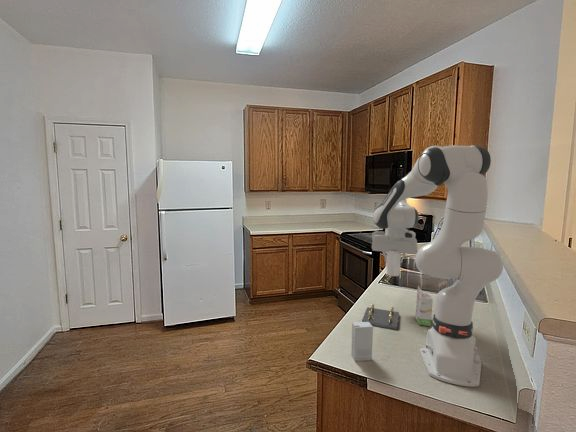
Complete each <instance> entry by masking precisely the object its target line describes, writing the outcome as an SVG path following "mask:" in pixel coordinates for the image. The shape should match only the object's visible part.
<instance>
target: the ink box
mask: <svg viewBox="0 0 576 432" xmlns="http://www.w3.org/2000/svg"><path fill="white" fill-rule="evenodd" d="M433 302H434V299H433V298H432V295H430V293H429V292H425V291H423V290H422V289H421V287H420V286H419V285H417V292H416V302H415V303H416V306H415V319H416V321H417V323H418V325H419V326H427V327H428V326H429V327H432V326H431V325H432V313H433Z"/></svg>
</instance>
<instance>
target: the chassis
mask: <svg viewBox="0 0 576 432" xmlns="http://www.w3.org/2000/svg"><path fill="white" fill-rule="evenodd" d="M394 309H395V307H394V306H391V307H390V310H387V309H380V308H375V304H374V303H371V307H370V306H369V307H366V309H365V312H364V314H363V316H362V319H361V322H369V323H370V324H371V325H372V326H373V327H374V326H375V327H380V328H386V329H391V330H394V331H395V330H398V324H399V323H398V322H399V317H400V312H399V311H395V310H394Z"/></svg>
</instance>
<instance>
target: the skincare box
mask: <svg viewBox="0 0 576 432" xmlns="http://www.w3.org/2000/svg"><path fill="white" fill-rule="evenodd" d="M351 324H352V325H351V356H352V358H353V360H354V362H361V361H362V362H363V361H364V362H365V361H372V360H373V338H374V337H373V335H374V326H373V325H371V324H370V323H369V322H362V321H355V322H354V321H353V322H352V323H351Z"/></svg>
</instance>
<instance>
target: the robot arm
mask: <svg viewBox="0 0 576 432" xmlns="http://www.w3.org/2000/svg"><path fill="white" fill-rule="evenodd" d="M491 159H492V158H491V155H490V152H489V150H488V149H487V148H485V147H484V146H480V145H456V144H455V145H454V144H453V145H445V146H440V145H431V146H429V147H427V148H425V149H424V150H423V151H422V152H421V154H420V156H419V157H418V158H417V160H416V162H415V163H414V165H413V167H412V169H411V171H409V172H408V173H407V174H406V175H405V176H404V177H402V178H401V179H400V180H398V181H396V183H394V185H393V186H392V187H391V189H390V190H389V192H388V193H387V194H386V196H385V197H384V198H383V200H382V202H381V203H380V204H379V205H378V206H377V207H376V208H375V209H374V211H373V214H372V216H373V217H372V219H373V220H372V221H373V224H375V226H376V227H378V228H379V229H381V231H378V230H375V231H373V232H372V233H371V240H372V243H371V250H372V251H373V252H374V251H375V252H382V255H383V257H384V262H386V254H387V252H389V250H393V251H398V252H399V253H401V259H400V263H401V264H403V261H404V259H405V257H406V254H407V255H415V266H416V268H417V269H418V272H420V273H421V274H422V275H425V276H428V277H431V278H432V277H433V278H436V279H437V278H438V279H446V280H447V279H448V280H456V281H455V282H454V283H453V284H452V285H450V286H448V287H445V288H443V289H441V290H440V291H439V292H438V293H437V294H436V296H435V309H434V310H435V311H434V314H433V316H432V317H433V318H432V326H431V328H430V329H428V330H427V333H426V343H425V347H421V348H420V349H419V354H420V356H421V359H422V361H423V363H424V365H425V369H426V371H427V374H428V376H430V377H432V378H434V379H436V380H439V381H441V382H444V383H448V384H454V385H456V386H463V387H468V388H469V387H470V388H473V387H474V388H475V387H479V386H480V383H481V375H482V373H481V372H482V361H481V360H480V359H481V355H479V354H475V353H476V352H478V350H479V347H478V346H477V345H476V341H477V339H476V337H475V336H474V335H473V333H474V332H473V331H474V322H473V321H472V320H473V311H474V305H475V301H476V299H477V297H478V295H479V294H480V292H481V291H482V290H483V289H485V287H486V286H488V285H489V284H491V283H493V282H494V281H496V280H498V279H499V278H500V277H501V275H502V274H503V273H502V272H503V269H504V263H503V259H502V257H501V256H500V255H499V253H497V252H496V251H495V250H491V249H488V248H482V247H474V246H462V245H463V244H465V243H467V242H468V241H469V242H470V241H471V240H474V239H476V238H477V237H479V236H480V235H481V233H482V232H483V230H484V224H485V219H486V213H487V212H486V211H487V205H488V194H489V193H488V192H489V190H488V181H487V177H485V174H487V172H488V171H489V169H490V166H491V161H492V160H491ZM443 184H444V185H445V186H446V189H447V196H446V197H447V198H446V201H445V210H444V215H443V221H442V224H441V228H440V230H439V232H438V233H437V235H436V236H435V237H434V238H433V239H432V240H430V242H427V244H424V245H423V246H421V247H419V248H418V240H417V238H416V235H417V234H416V232H414V231H413V230H409V229H410V228H411V229H412V228H414V227H416V225H417V224H418V222H419V212H418V210H417V209H416V208H415V207H414V206H411V205H410V204H409V203H408V202H407V201H408V199H410V198H417V197H423V196H427V195H430V194H432V193H433V192H434V191H435V190H437V188H438V187H441V186H442V185H443ZM383 229H385V230H384V231H382V230H383Z"/></svg>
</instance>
